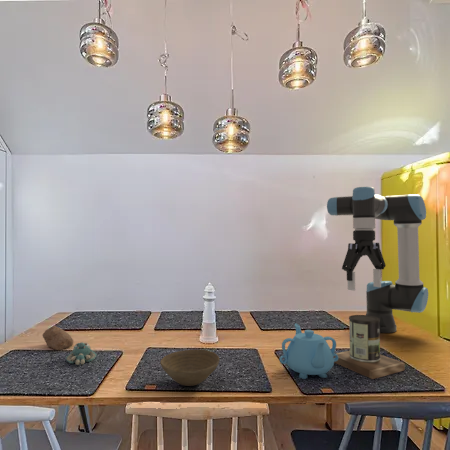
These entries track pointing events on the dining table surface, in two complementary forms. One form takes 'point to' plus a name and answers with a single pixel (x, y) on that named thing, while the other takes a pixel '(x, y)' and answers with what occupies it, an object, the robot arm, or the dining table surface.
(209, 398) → the dining table surface
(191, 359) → the bowl
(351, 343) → the coffee can
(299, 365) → the teapot
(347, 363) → the walnut board
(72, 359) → the stuffed animal
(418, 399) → the dining table surface
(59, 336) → the stone
